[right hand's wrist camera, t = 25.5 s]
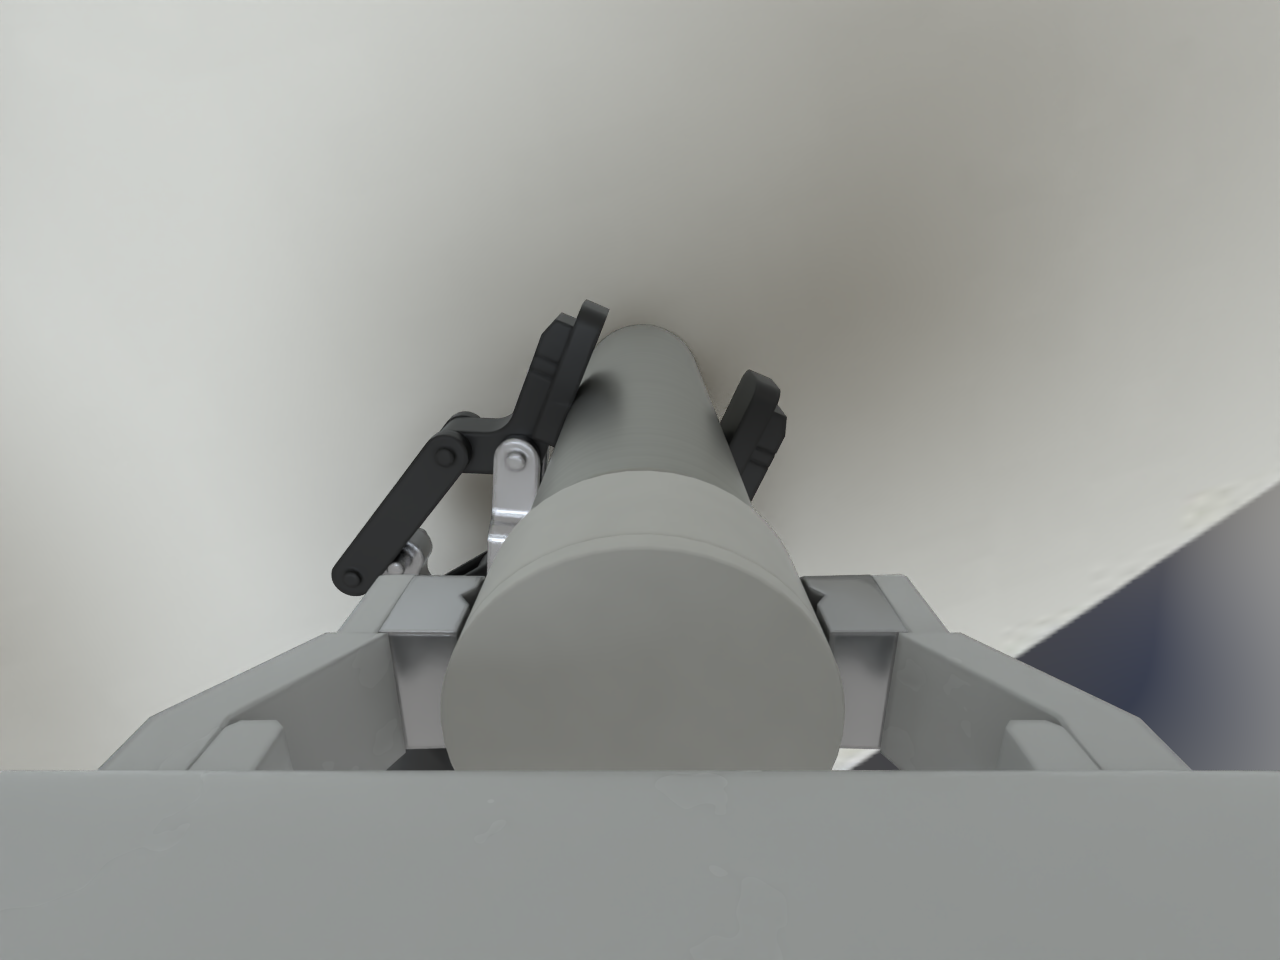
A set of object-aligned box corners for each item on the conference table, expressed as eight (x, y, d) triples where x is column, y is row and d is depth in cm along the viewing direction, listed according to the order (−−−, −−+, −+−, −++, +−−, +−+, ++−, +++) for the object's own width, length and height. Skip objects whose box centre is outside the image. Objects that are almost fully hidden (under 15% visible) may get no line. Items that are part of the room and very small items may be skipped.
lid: (686, 786, 12) (697, 926, 9) (431, 658, 11) (372, 777, 8) (866, 574, 10) (930, 677, 8) (587, 405, 9) (567, 466, 7)
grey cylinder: (708, 425, 26) (824, 776, 10) (599, 447, 27) (527, 824, 10) (687, 313, 25) (781, 497, 8) (572, 338, 25) (435, 565, 8)
